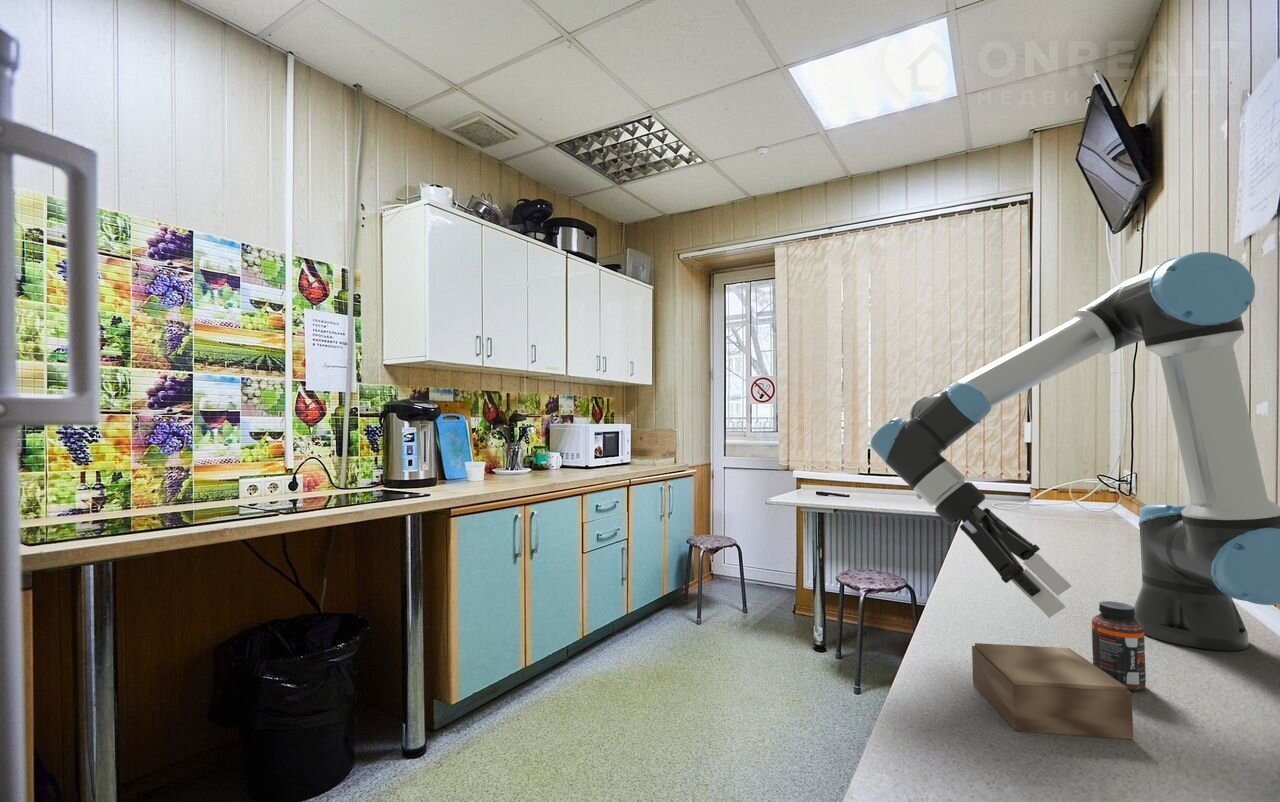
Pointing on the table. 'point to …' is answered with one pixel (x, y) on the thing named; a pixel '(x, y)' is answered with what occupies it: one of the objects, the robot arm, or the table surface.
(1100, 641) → the supplement bottle
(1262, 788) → the table surface
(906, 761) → the table surface
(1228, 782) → the table surface
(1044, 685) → the block
